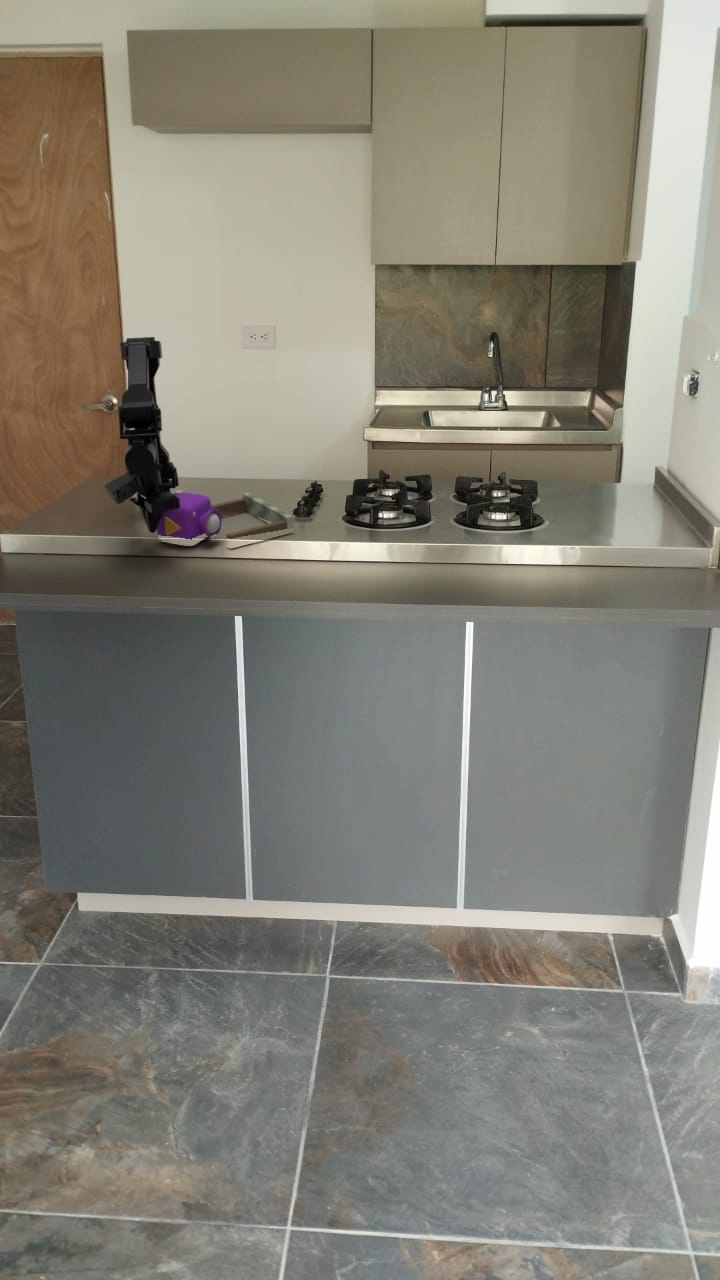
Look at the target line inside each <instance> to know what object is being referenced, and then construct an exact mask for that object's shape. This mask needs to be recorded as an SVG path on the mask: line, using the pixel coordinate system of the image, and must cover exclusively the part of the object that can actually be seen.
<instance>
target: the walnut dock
mask: <svg viewBox="0 0 720 1280" xmlns="http://www.w3.org/2000/svg"><path fill="white" fill-rule="evenodd" d="M211 509H217V510H218V511H219V512H220V514H221V517H223V516H229V515H233V516H236V515H235V514H237V515H240V513H241V514H245V513H249V514H250V515H251V514H252V516H253V515H254V516H253V517H255V516H257V517H260V518H262V519H265V520H267V521H270V522H272V523H270V524H267V523H266V524H262V525H258V526H255V527H251V528H246V529H243V530H238V531H234V532H231V533H228V534H226V539H227V538H229V539H233V538H237V537H242V536H248V535H255V534H261V533H266V532H273V531H278V530H284V529H290V528H294V516H293V515H291V514H289V513H288V512H286V511H284V510H282V509H280V508H278V507H277V506H275V505H273V504H271V503H269V502H267V501H265V500H263V499H261V498H259V497H258V496H256V495H254V494H252V493H250V492H245V493H242V498H238V499H233V500H229V501H228V500H227V501H225V502H219V503H216V504H211ZM229 517H230V516H229ZM257 517H256V518H257Z"/></svg>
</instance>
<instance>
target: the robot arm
mask: <svg viewBox="0 0 720 1280" xmlns="http://www.w3.org/2000/svg"><path fill="white" fill-rule="evenodd" d="M119 346H120V357H121V361H125V366H126V370H127V389H126V390H125V391H124V392H123V393H122V394H121V403H120V404H121V405H118V422H119V439H120V440H127V445H128V446H127V449H126V453H125V456H124V464H125V467H126V473H125V474H123V475H120V476H118V477H117V478H114V479H113V480H111V481H110V482H108V483H106V484H105V485H104V488H105V490H106V493H107V494H108V496H109V497H110V500H111V501H113V502H114V503H115V504H117V505H120V504H122V503H124V502H125V501H127V500H129V501H130V502H132V503H133V504H134V505H135V506H137V507H138V508H139V510H140V513H141V514H142V518H143V519H144V522H145V524H146V526H147V530H148V532H149V533H150V534H154V533H156V532H157V527H158V524H159V522H160V519H161V517H162V514H163V512H165V511H170V510H174V509H179V508H180V499H179V498H178V497H177V496H175V495H174V493H172V492H171V489H176V488H177V487H179V485H180V484H179V476H178V470H177V467H175V465H174V462H173V461H171V459H170V453H169V451H168V450H167V449H166V447H165V446H164V445H163V444H162V439H161V438H162V437H161V432H162V431H163V425H162V422H163V421H162V409H161V408H159V405H158V402H157V391H156V383H155V381H156V380H155V376H156V374H157V372H158V370H159V369H160V365H161V360H160V359H163V353H162V352H163V351H162V342H161V341H160V340H156V337H155V336H147V337H146V336H145V337H144V336H143V337H128V338H126V341H122V342H119Z"/></svg>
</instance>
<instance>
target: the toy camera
mask: <svg viewBox="0 0 720 1280" xmlns="http://www.w3.org/2000/svg"><path fill="white" fill-rule="evenodd" d="M173 494H174V495H175V496H177V497H178V498H179V499H180V508H179V509H174V510H170V511H165V512H163V514H162V517H161V519H160V522H159V524H158V527H157V530H156V532H157V536H158V535H161V536H171V537H172V536H173V537H180V538H185V539H191V540H192V538H195V537H197V536H199V535H202V534H204V533H205V534H206V535H207V536H208V538H209V537H211V536H212V535H214V534H218V533H220V532H221V528H222V523H223V521H222V520H223V518H221V514H220V512H219V511H218V510H217V509H211V505H212V502H211V499H210V497H209V496H207V495H203V494H197V493H196V494H195V493H189V492H185V491H183V490H181V489H177V490H175V491H174V492H173ZM218 535H219V534H218Z"/></svg>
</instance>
